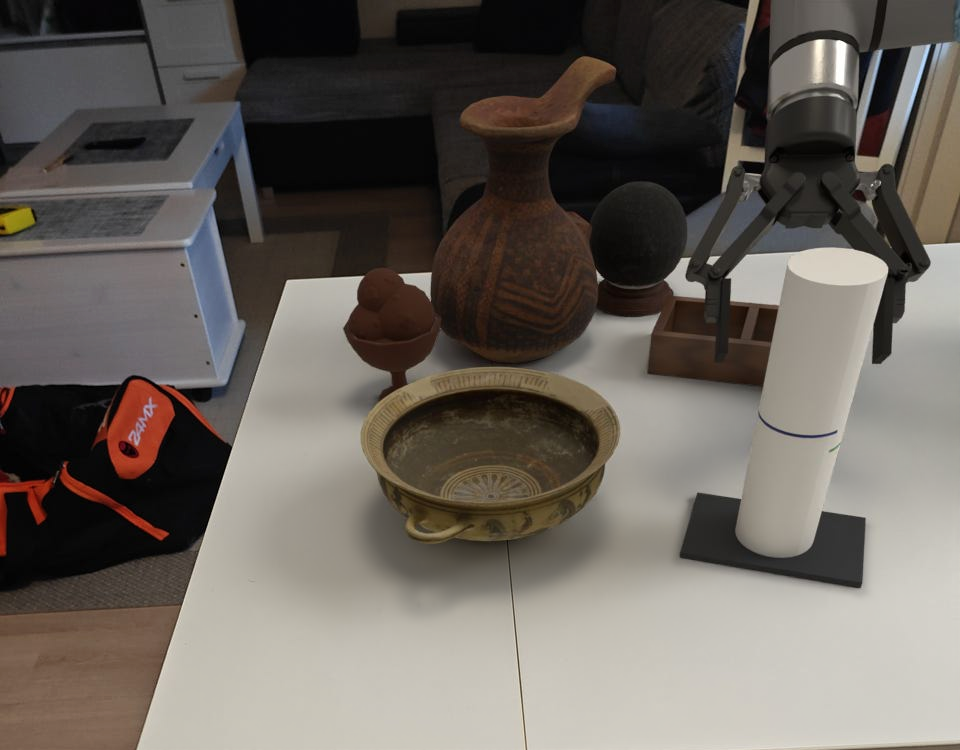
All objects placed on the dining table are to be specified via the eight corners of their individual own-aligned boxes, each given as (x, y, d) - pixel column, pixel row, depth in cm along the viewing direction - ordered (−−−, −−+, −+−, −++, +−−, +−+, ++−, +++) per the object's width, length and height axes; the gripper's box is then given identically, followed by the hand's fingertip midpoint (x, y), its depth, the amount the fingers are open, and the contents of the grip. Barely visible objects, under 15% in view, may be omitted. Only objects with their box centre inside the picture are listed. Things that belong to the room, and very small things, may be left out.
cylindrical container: (720, 522, 84) (768, 258, 67) (783, 504, 86) (846, 241, 68) (763, 565, 79) (826, 292, 62) (829, 545, 81) (909, 273, 63)
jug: (591, 384, 106) (605, 101, 85) (418, 376, 109) (390, 102, 88) (605, 307, 121) (620, 50, 100) (453, 302, 124) (436, 53, 103)
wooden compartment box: (837, 350, 109) (847, 311, 106) (832, 394, 101) (842, 354, 98) (664, 332, 115) (668, 295, 111) (647, 373, 107) (650, 334, 104)
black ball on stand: (684, 282, 126) (697, 168, 115) (675, 322, 117) (689, 203, 106) (593, 277, 128) (597, 166, 118) (577, 316, 119) (581, 199, 109)
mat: (864, 522, 84) (865, 517, 84) (860, 588, 77) (862, 582, 77) (696, 497, 88) (697, 492, 88) (679, 557, 82) (680, 552, 81)
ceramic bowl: (545, 641, 74) (546, 549, 67) (311, 572, 83) (290, 483, 76) (654, 460, 93) (663, 373, 86) (455, 418, 102) (449, 335, 95)
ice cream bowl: (345, 420, 102) (324, 293, 92) (371, 374, 110) (353, 252, 100) (434, 425, 101) (422, 296, 90) (453, 378, 108) (444, 254, 98)
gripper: (942, 139, 79) (932, 373, 79) (662, 145, 82) (652, 370, 82) (980, 86, 72) (969, 344, 72) (671, 94, 74) (660, 342, 74)
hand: (800, 359), depth 77 cm, fingers open, 13 cm apart
